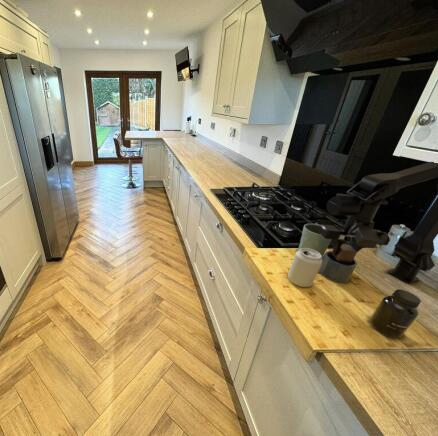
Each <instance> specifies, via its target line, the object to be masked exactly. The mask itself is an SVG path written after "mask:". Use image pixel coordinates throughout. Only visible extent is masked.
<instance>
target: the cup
mask: <svg viewBox="0 0 438 436" xmlns="http://www.w3.org/2000/svg"><path fill="white" fill-rule="evenodd" d="M332 251H333V250H328V251H327V250H326V251H325V253H324V255H323V257H322V264H321V266H320V268H319V270H318V272H319V273H320V275H322V276H323V277H325V278H327V279H328V280H331V281H333V282H336V283H337V282H338V283H348V282H349V281H350V279H351V277H352V275H353V273H354V271H355V270H356V268H357V265H358V262H357V260H356V259H355V258H354V259H353V261H352V262H345V261H338V260H337V259H336V258H335V257H334V256H333V255H332V254H331V253H332Z"/></svg>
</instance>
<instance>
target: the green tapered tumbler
mask: <svg viewBox="0 0 438 436" xmlns="http://www.w3.org/2000/svg"><path fill="white" fill-rule="evenodd" d="M321 225H322V224H318V223H306V224H304V225H303V228H302V232H301V233H302V234H301V237H300V241H299V242H300V243H299V244H298V245H299V246H298V249H297V251H299V250H300V249H301V248H309V249H313V250H315V251H317V252H319V253H320V254H321V255H322V257H321V259H323V257H324V254H325V253H326V252H327V250H328V248H329V245H330V244H331V242H332V239H326V238H324V237H323V236H322V235H321V234H320V233H319V232H318V228H319V226H321Z"/></svg>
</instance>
